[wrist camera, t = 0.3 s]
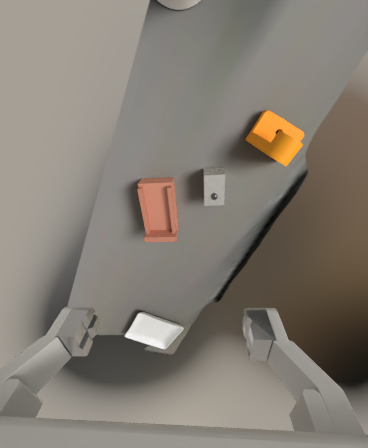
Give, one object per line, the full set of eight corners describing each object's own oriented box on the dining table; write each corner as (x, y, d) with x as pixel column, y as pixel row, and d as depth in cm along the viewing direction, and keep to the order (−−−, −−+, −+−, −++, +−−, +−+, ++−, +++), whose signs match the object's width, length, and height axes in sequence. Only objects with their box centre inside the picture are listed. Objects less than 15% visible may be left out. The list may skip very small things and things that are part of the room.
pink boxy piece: (141, 178, 55) (134, 189, 49) (173, 177, 54) (170, 187, 48) (150, 227, 63) (144, 242, 57) (178, 226, 63) (176, 241, 56)
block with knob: (203, 168, 53) (204, 176, 47) (222, 167, 52) (225, 174, 47) (203, 196, 57) (204, 206, 52) (221, 195, 57) (224, 205, 51)
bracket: (300, 132, 47) (329, 140, 37) (279, 159, 51) (300, 174, 40) (263, 108, 45) (283, 110, 35) (244, 139, 49) (257, 149, 38)
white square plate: (125, 330, 96) (123, 337, 93) (140, 306, 85) (138, 313, 82) (166, 343, 100) (165, 350, 97) (184, 321, 89) (184, 328, 86)
